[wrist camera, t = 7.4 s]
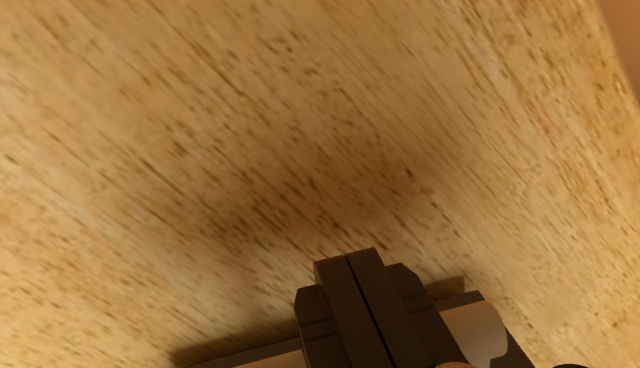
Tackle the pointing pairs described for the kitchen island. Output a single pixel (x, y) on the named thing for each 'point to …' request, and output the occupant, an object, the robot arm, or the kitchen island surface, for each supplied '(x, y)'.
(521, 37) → the kitchen island surface
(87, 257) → the kitchen island surface
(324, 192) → the kitchen island surface
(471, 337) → the drawer
